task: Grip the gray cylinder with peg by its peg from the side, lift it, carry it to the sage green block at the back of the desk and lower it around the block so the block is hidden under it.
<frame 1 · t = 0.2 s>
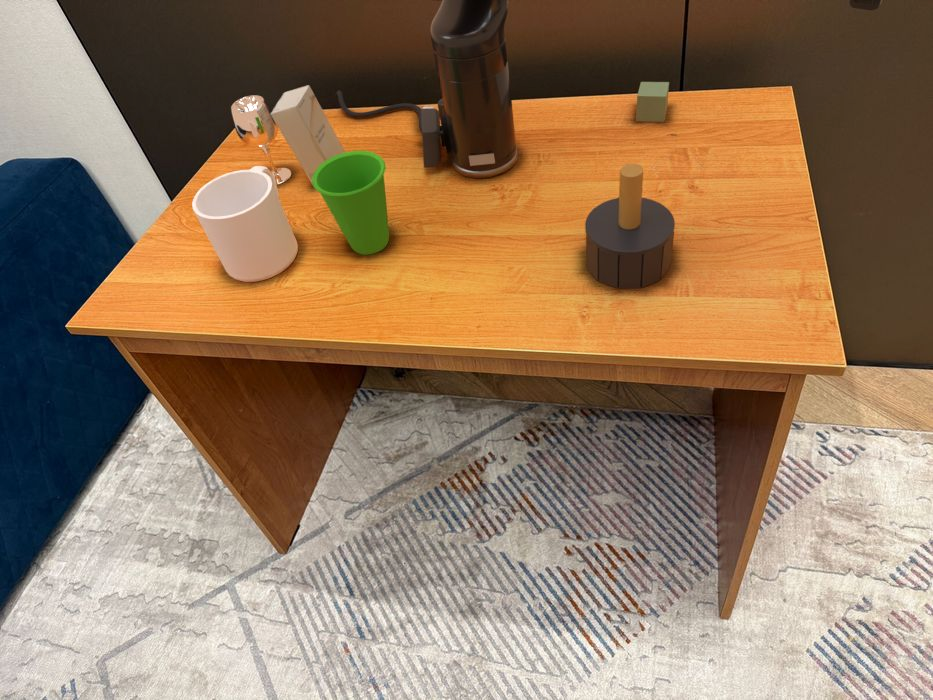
mug: (267, 252, 94), on the table
cosmetic box: (331, 173, 103), on the table
wineglass: (277, 177, 105), on the table
block: (651, 114, 102), on the table
usb drive: (420, 133, 102), point 3 cm above the table
gray cylinder with peg: (627, 260, 82), on the table
cup: (370, 243, 92), on the table
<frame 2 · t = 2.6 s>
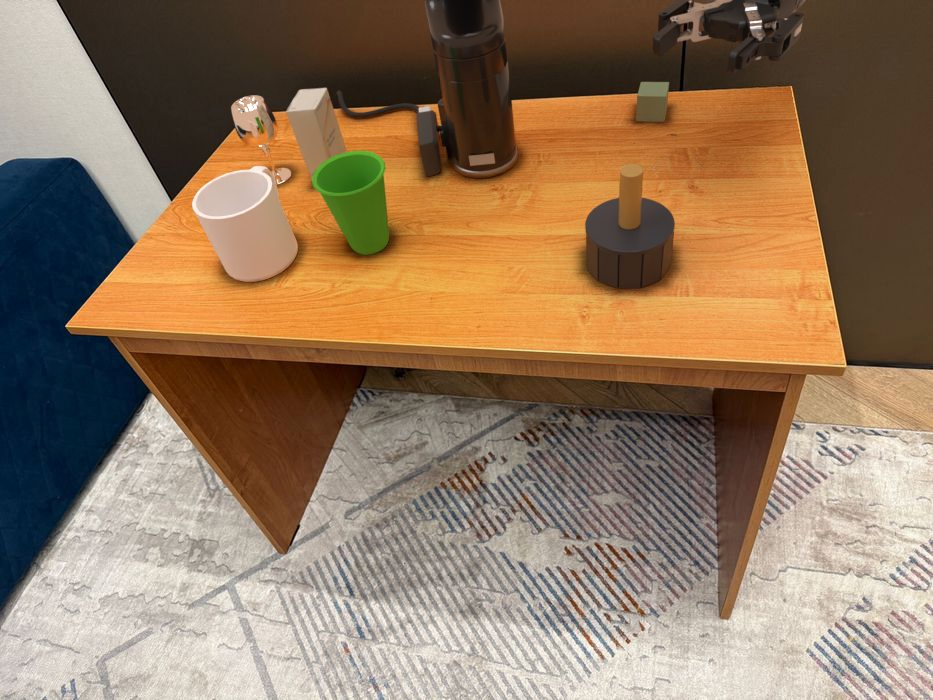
hand: (693, 55, 72), 20 cm above the table, tool horizontal, fingers open, 8 cm apart
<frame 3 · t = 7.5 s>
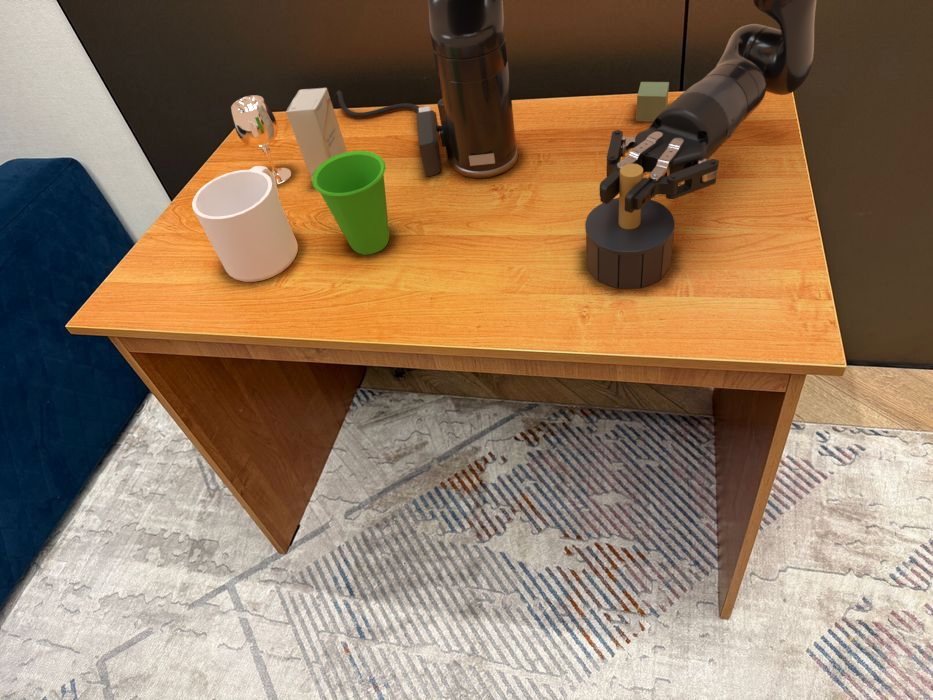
hand: (615, 200, 73), 11 cm above the table, tool horizontal, fingers closed on gray cylinder with peg, 2 cm apart
gray cylinder with peg: (627, 260, 82), on the table, touching gripper
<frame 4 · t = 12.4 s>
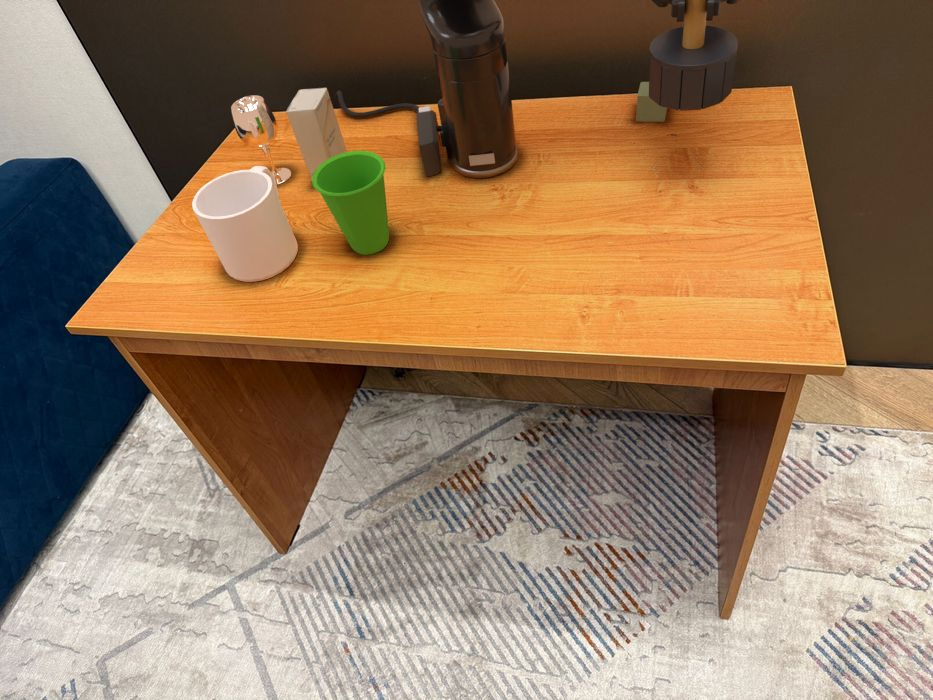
hand: (695, 12, 75), 21 cm above the table, tool horizontal, fingers closed on gray cylinder with peg, 2 cm apart
gray cylinder with peg: (689, 89, 85), point 11 cm above the table, touching gripper
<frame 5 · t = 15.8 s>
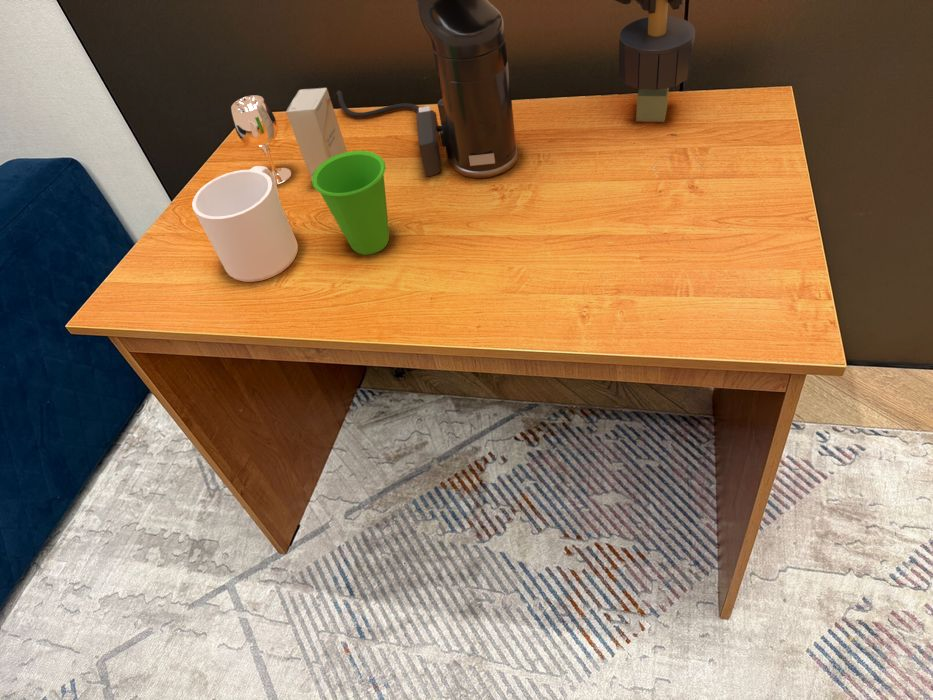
hand: (665, 3, 88), 17 cm above the table, tool horizontal, fingers closed on gray cylinder with peg, 2 cm apart
gray cylinder with peg: (654, 72, 97), point 6 cm above the table, touching gripper
when the fingers open (11 cm above the table, at t = 17.8 s): gray cylinder with peg stays where it is, on the table.
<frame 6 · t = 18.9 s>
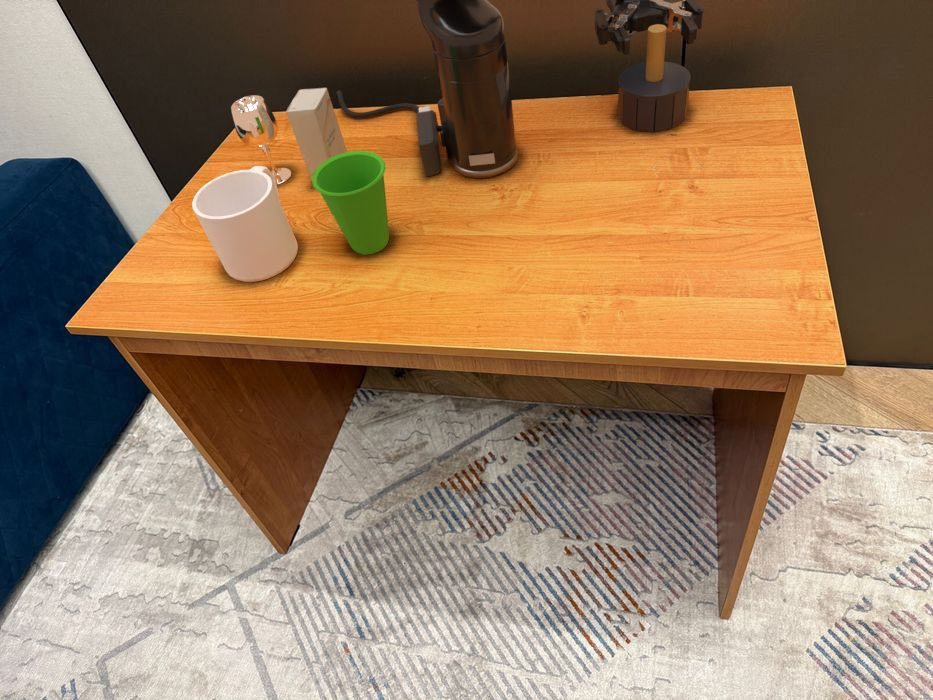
hand: (659, 42, 92), 11 cm above the table, tool horizontal, fingers open, 8 cm apart
gray cylinder with peg: (652, 113, 102), on the table
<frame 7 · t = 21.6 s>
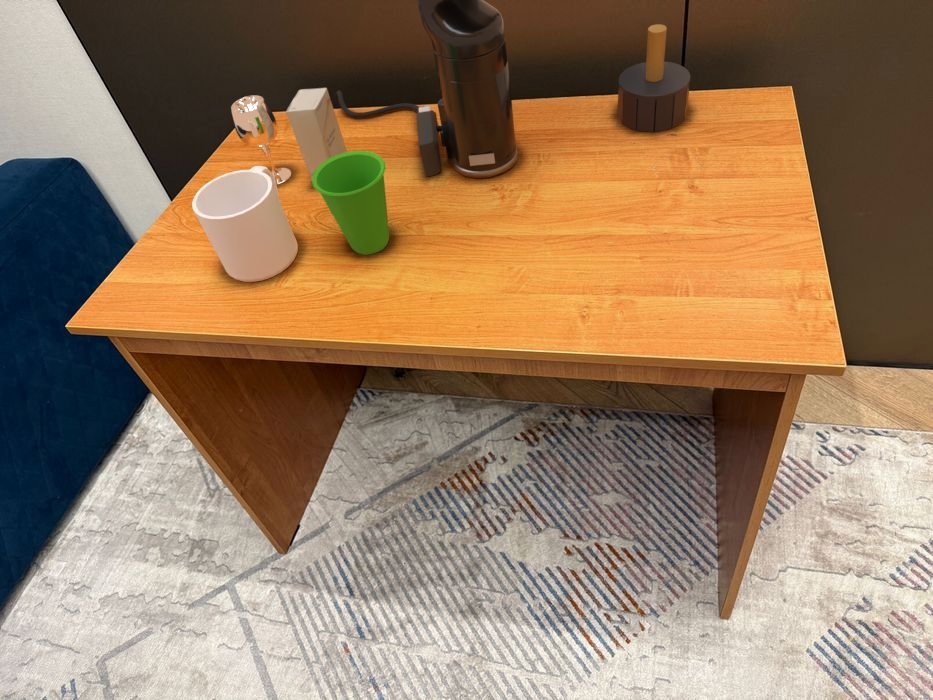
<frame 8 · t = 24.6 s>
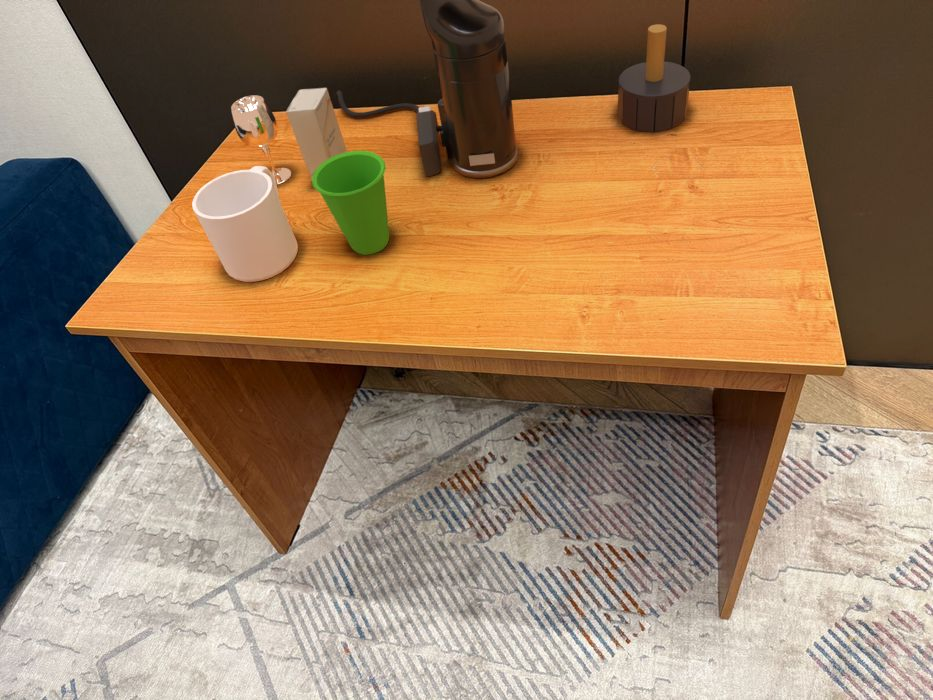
at the end: gray cylinder with peg 0.1 cm off-centre on the block, point 0.0 cm above the block's base; gray cylinder with peg tilted 0°; block moved 0.0 cm from its start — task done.
